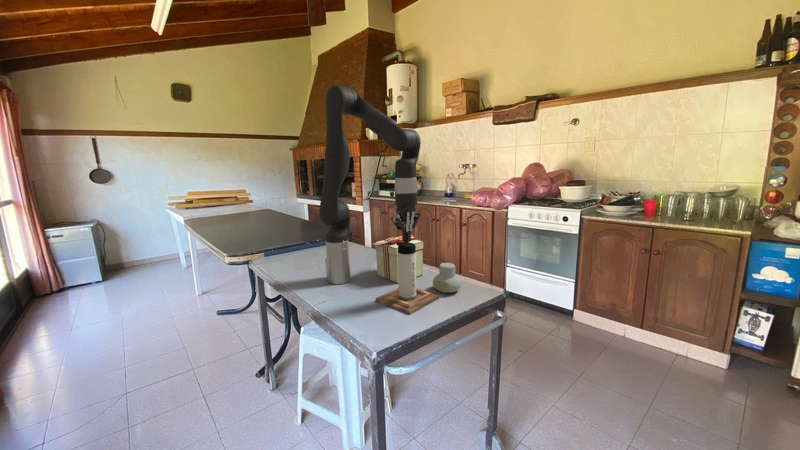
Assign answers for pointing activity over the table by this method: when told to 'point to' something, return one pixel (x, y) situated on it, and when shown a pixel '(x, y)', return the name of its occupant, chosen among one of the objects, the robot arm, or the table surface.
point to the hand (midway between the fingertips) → (406, 241)
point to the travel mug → (407, 270)
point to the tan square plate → (407, 305)
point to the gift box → (395, 257)
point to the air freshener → (447, 279)
